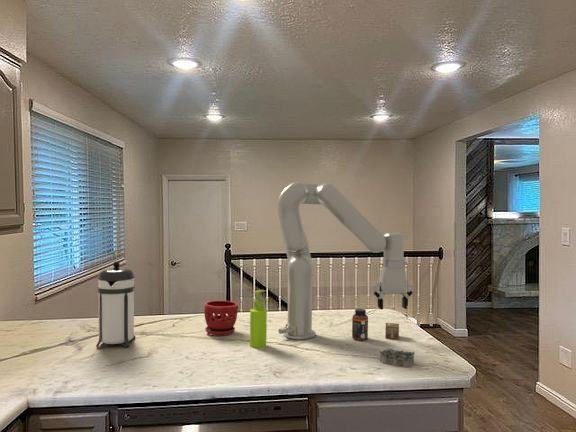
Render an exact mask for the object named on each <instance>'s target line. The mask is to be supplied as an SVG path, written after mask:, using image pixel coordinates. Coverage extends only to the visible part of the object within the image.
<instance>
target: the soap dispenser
mask: <svg viewBox="0 0 576 432" xmlns="http://www.w3.org/2000/svg"><path fill="white" fill-rule="evenodd" d="M264 292H266V290H264V289H257V290H255V291H254V294H255V295H256V296H255V299H254V300H253V308H250V311H249V312H250V314H249V315H250V316H249V319H250V320H249V324H250V325H249V326H250V328H249V329H250V330H249V331H250V332H249V346H250V348H254V349H264V348H265V347H267V322H268V321H267V318H268V317H267V315H268V314H267V312H268V311H267V308H264V299H262V293H264Z"/></svg>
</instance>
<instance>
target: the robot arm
mask: <svg viewBox="0 0 576 432" xmlns="http://www.w3.org/2000/svg"><path fill="white" fill-rule="evenodd" d="M301 204H302V205H322V206H323V207H324V208H325V209H326V210H327V211H328V212H329V213H330V214H331V216H332V217H334V218H335V219H336V220H337V221H338V222H339V223H340V224H341V225H342V226H343V227H344V228H346V229H347V230H348V231H349V232H350V233H351V234H353V235H354V236H355V237H356V238H357V239H358V240H359V241H360V242H361V243H362V244H363V245H364V247H365V248H366V249H367V250H368V251H369V252H372V253H373V254H374V253H377V254H378V253H381V252H382V251H383V267H381V268H380V271H379V277H378V278H379V280H378V283H376V284H374V285H372V286H371V287H370V289H371V291H372V293H373V295H374V296H375V297H376V298H377V307H378V309H379V310H383V309H384V299H383V297H385V295H402V299H401V308H403V309H405V310H407V309H408V306H409V299H410V297H411V296H412V294H413V292H414V290H415V288H416V287H415V286H414V285H412V284H410V283H408V282H407V274H406V273H407V272H406V268H405V266H407V261H406V260H404V259H405V258H404V255H405V254H404V250H405V249H404V247H405V242H404V241H405V236H404V234H403V233H401V232H381V231H379V229H377V228H376V227H375V225H373V224H372V222H371V221H369V220H368V219H367V217H365V216H364V215H363V212H361V211H360V209H358V208H357V207H356V206H355V205H354V204H353V203H352V202H351V201H350V199H348V198H347V197H346V196H345V195H344V194H343V193H342V192H341V190H339V189H338V187H336V185H334V184H332V183H330V182H324V183H307V182H305V183H304V182H302V181H293V182H291V183H290V184H288V185H287V186H286V187H285V188H284V189H283V190H282V192H281V193H280V195H279V197H278V200H277V204H276V205H277V206H276V207H277V217H278V222H279V227H280V232H281V237H282V244H283V247H284V249H285V253H286V257H287V263H288V264H287V323H286V324H285V327H282V328H278V334H280V335H282V334H283V336H284V337H285V338H288V339H293V340H310V339H312V338H315V337H316V331H315V330H314V329H313V328H312V327H313V325H312V322H313V321H312V317H313V314H312V313H313V274H314V271H313V269H314V266H313V265H314V264H313V261H312V256H311V252H310V247H309V246H310V245H309V243H308V238H307V234H306V232H305V230H304V227H303V224H302V218H301V214H300V206H301ZM408 288H409V289H408ZM377 289H378V291H377ZM407 290H408V291H407Z"/></svg>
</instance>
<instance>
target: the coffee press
mask: <svg viewBox="0 0 576 432" xmlns="http://www.w3.org/2000/svg"><path fill="white" fill-rule="evenodd" d="M112 266H113V267H110V268H106V269H103V270H101V271H100V272H99V273H98V276H97V277H96V278H97V281H98V287H97V293H98V342H97V343H96V345H95V346H96V348H97V349H100V350H101V349H102V348H103V347H104V345H106V344H108V345H115V344H116V345H117V344H122V345H123V347H124V348H125V349H126V348H130V345H131V344H130V341H131V340H132V341H135V339H136V335H135V289H136V287H135V285H136V284H135V278H136V275H135V274H134V271H133V270H131V268H127V267H126V268H125V267H120V262H119V261H114V262H113V264H112Z"/></svg>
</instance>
